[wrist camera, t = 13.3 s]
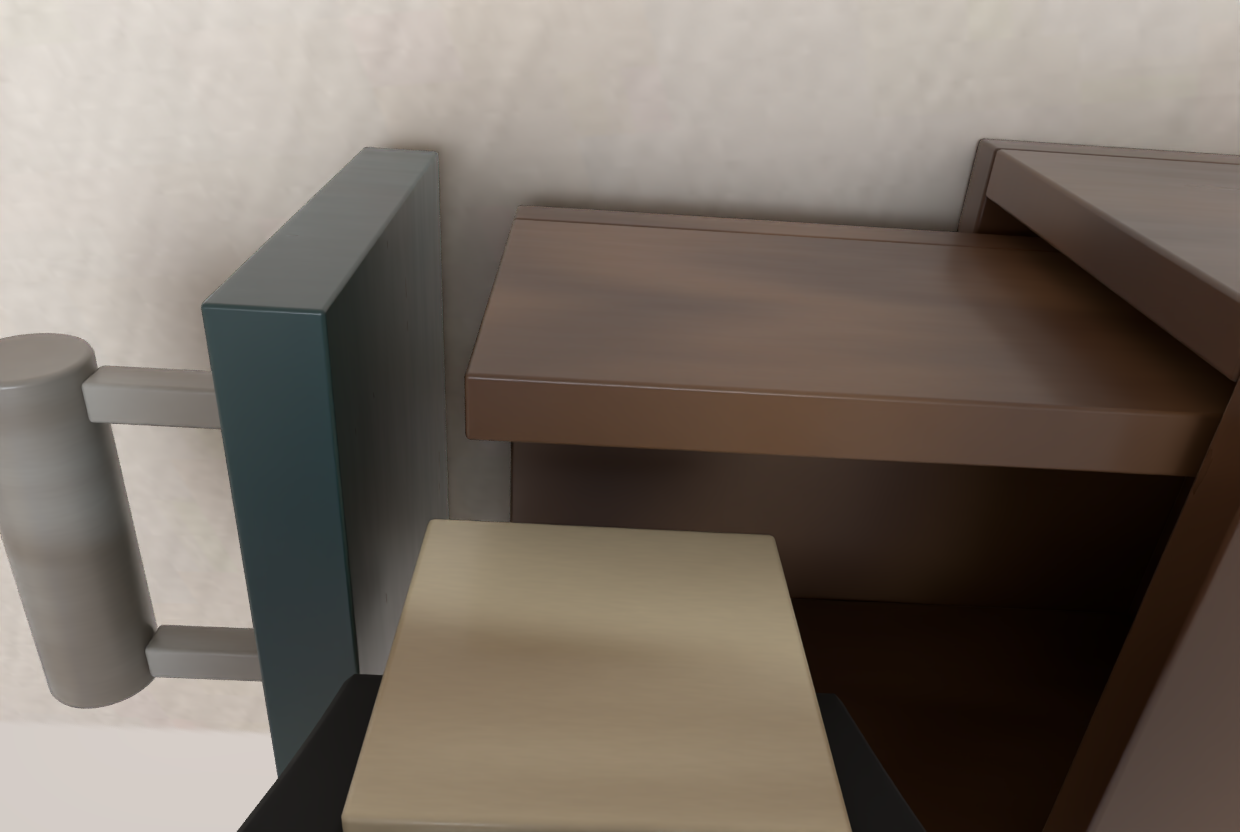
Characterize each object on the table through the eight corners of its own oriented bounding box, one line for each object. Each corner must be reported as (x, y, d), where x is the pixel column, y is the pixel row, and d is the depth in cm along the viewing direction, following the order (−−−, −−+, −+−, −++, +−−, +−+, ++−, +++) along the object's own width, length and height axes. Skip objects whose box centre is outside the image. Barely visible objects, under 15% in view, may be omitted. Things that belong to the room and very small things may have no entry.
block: (732, 770, 13) (780, 1101, 9) (438, 758, 12) (371, 1093, 9) (775, 532, 11) (856, 836, 7) (428, 515, 10) (338, 818, 7)
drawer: (185, 591, 19) (-6, 899, 13) (91, 128, 15) (-266, 276, 9) (1114, 632, 20) (1330, 940, 14) (1295, 205, 15) (1729, 390, 9)
